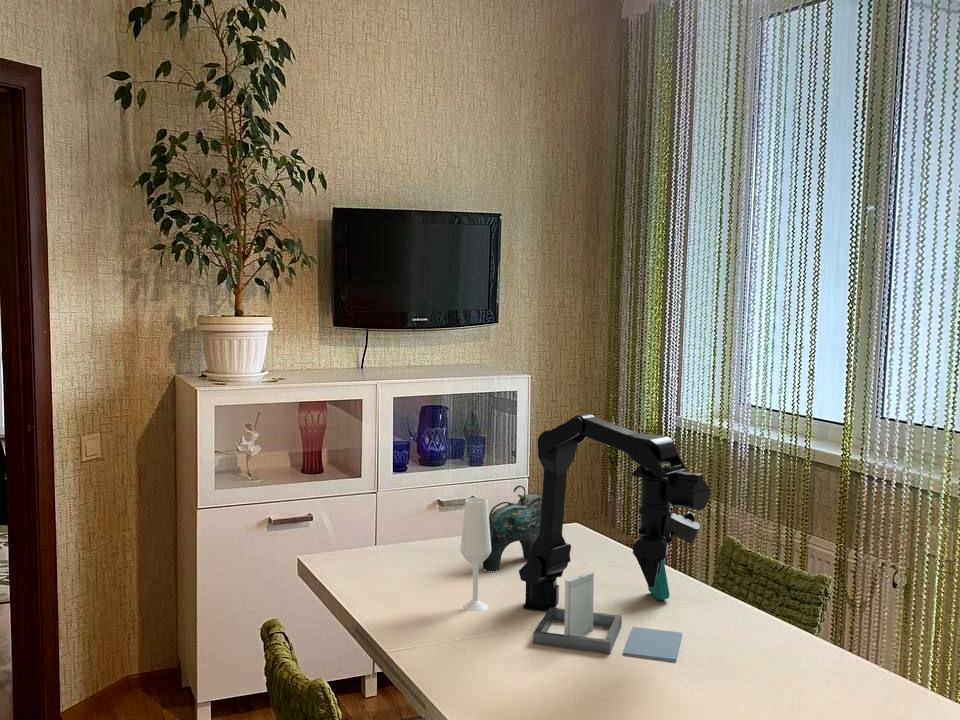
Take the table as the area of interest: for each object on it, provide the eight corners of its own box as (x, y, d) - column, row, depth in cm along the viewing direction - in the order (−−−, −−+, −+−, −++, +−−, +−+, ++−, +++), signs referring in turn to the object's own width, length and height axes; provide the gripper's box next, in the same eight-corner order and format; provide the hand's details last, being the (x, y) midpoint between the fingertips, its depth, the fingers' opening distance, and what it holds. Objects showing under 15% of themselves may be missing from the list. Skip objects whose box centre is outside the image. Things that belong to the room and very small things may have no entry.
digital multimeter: (660, 603, 210) (672, 600, 211) (649, 538, 209) (662, 535, 210) (648, 594, 217) (660, 591, 218) (638, 531, 216) (650, 529, 217)
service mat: (623, 655, 181) (623, 652, 181) (632, 629, 195) (632, 626, 195) (676, 662, 179) (676, 659, 178) (682, 635, 192) (682, 632, 192)
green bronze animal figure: (532, 555, 246) (533, 479, 244) (550, 560, 241) (552, 483, 239) (476, 570, 232) (477, 490, 231) (494, 576, 228) (495, 495, 226)
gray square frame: (533, 645, 186) (533, 633, 186) (549, 618, 200) (549, 607, 200) (610, 655, 181) (610, 642, 181) (621, 627, 196) (621, 615, 196)
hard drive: (593, 631, 193) (595, 572, 192) (569, 643, 187) (570, 581, 186) (587, 629, 194) (588, 570, 193) (562, 640, 188) (564, 580, 187)
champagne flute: (454, 611, 204) (456, 502, 202) (466, 601, 210) (468, 495, 208) (483, 615, 202) (485, 505, 199) (495, 605, 208) (496, 498, 206)
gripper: (694, 515, 173) (692, 599, 174) (701, 494, 191) (699, 569, 192) (633, 511, 176) (631, 593, 177) (645, 490, 194) (644, 564, 195)
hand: (653, 579), depth 185 cm, fingers open, 8 cm apart
